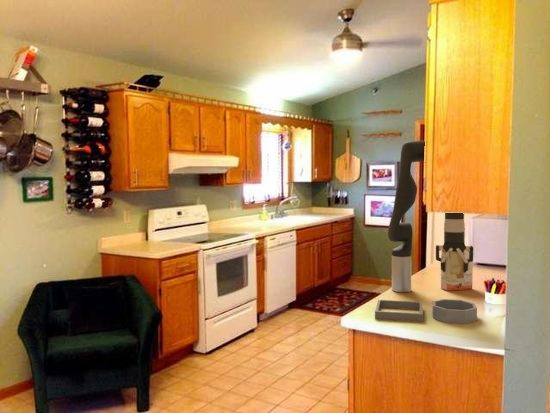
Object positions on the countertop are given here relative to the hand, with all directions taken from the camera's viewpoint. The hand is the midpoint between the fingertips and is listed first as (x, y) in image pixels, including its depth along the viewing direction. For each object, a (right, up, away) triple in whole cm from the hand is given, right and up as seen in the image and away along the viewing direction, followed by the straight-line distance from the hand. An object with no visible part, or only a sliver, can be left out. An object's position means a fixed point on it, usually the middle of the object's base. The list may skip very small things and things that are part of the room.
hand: (454, 271), depth 186 cm
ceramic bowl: (0, -18, +1) cm, 18 cm away
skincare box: (0, -4, 0) cm, 4 cm away
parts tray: (-20, -18, +7) cm, 28 cm away
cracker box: (+19, -15, +46) cm, 52 cm away
